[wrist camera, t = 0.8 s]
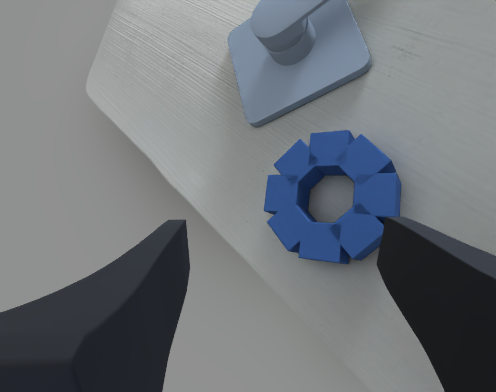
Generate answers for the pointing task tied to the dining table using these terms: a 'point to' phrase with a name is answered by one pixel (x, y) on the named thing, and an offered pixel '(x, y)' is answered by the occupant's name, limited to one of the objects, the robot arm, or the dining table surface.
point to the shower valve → (294, 55)
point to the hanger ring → (354, 220)
